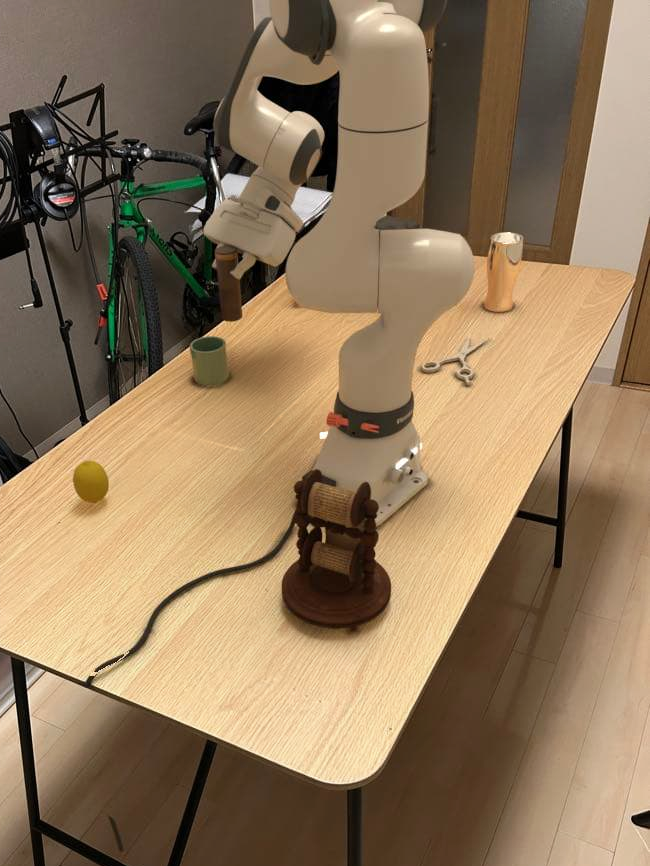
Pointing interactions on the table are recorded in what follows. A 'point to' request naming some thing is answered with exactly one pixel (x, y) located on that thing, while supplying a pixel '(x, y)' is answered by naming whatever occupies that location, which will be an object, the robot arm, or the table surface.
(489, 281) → the beer glass
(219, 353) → the tumbler
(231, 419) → the table surface
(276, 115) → the robot arm
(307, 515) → the wooden twine spool holder
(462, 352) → the scissors
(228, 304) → the rod
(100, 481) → the lemon
